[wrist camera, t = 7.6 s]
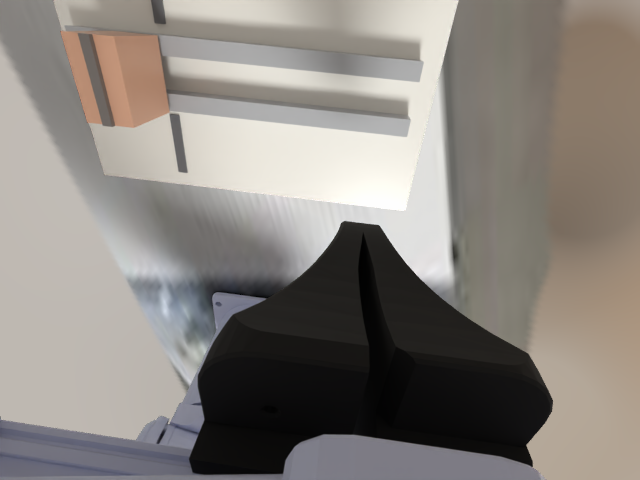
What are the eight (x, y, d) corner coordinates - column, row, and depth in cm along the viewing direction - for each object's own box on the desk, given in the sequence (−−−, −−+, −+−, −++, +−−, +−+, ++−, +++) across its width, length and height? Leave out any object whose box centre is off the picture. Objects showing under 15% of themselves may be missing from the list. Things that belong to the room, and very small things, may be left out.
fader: (178, 108, 17) (131, 129, 13) (140, 104, 17) (83, 123, 13) (167, 34, 15) (110, 36, 12) (125, 30, 15) (55, 30, 12)
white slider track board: (401, 196, 21) (407, 219, 18) (124, 163, 21) (92, 181, 19) (462, -58, 14) (484, -77, 12) (59, -92, 15) (-2, -117, 12)
